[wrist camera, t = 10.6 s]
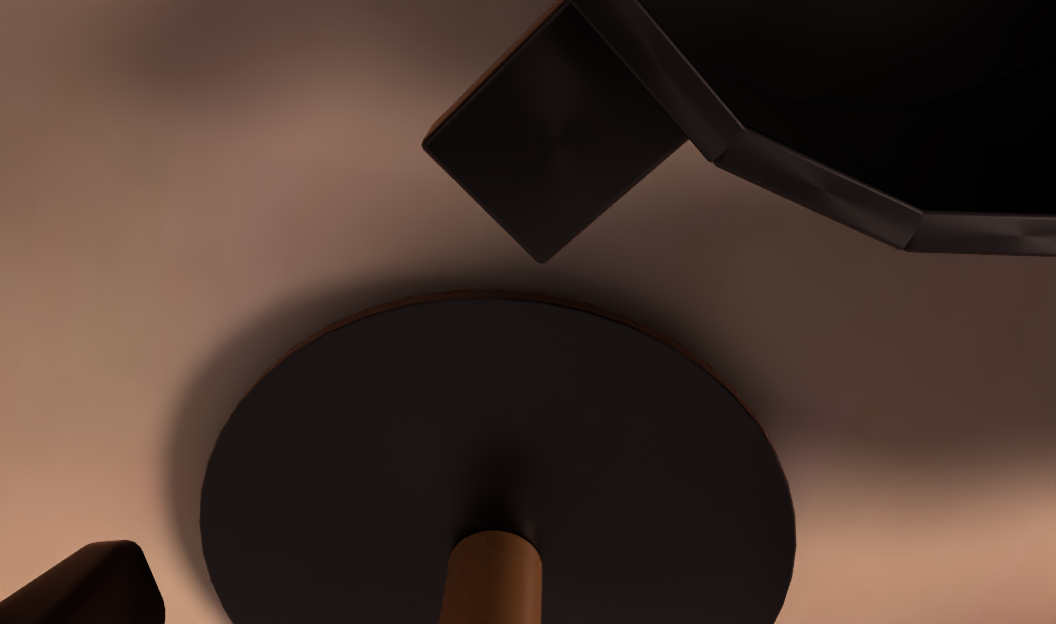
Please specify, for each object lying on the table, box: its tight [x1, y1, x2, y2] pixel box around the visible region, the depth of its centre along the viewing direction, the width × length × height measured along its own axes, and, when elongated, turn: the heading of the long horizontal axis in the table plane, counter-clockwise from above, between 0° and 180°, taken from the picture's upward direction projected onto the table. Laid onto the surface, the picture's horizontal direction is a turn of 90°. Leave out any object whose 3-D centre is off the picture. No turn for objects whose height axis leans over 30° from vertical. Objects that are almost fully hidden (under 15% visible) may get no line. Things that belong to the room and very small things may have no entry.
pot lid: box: [199, 289, 796, 624], centre depth 19 cm, size 15×15×5 cm
